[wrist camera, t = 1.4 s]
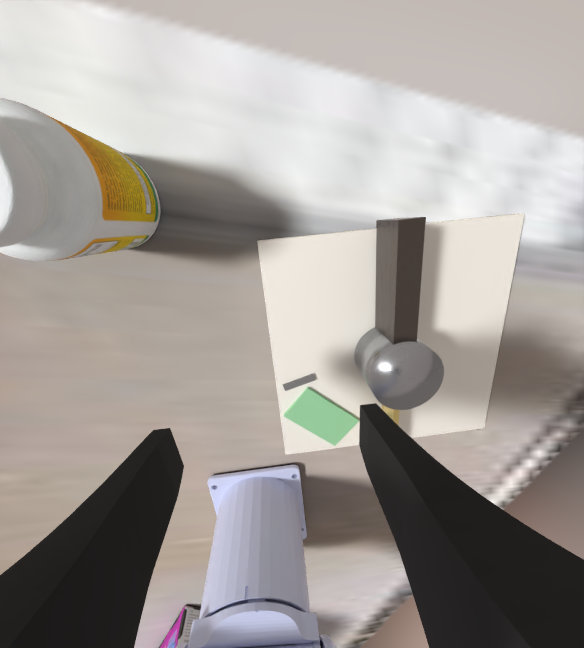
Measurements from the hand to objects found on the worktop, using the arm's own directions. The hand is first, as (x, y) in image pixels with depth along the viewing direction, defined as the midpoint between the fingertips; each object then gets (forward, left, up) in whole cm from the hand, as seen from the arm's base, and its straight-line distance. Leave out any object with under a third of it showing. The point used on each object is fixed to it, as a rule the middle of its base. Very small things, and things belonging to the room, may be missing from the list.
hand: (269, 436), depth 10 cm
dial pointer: (-2, -8, -9) cm, 12 cm away
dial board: (-2, -9, -10) cm, 13 cm away
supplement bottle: (+10, +8, -10) cm, 16 cm away
